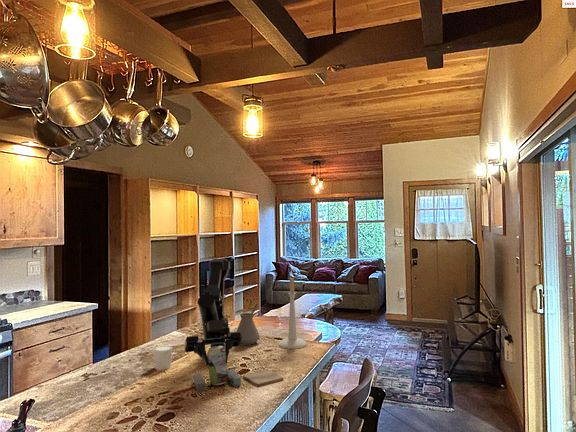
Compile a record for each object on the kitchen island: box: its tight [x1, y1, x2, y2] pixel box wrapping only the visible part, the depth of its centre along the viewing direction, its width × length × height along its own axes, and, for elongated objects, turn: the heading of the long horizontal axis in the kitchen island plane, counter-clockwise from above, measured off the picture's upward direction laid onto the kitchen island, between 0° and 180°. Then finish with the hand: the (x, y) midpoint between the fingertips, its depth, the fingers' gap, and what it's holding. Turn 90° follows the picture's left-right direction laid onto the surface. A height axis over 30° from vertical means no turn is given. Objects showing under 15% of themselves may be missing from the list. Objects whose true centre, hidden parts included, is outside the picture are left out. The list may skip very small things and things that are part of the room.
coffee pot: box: [235, 303, 261, 346], centre depth 185 cm, size 21×12×15 cm, turn 167°
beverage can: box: [206, 346, 229, 386], centre depth 131 cm, size 6×7×12 cm
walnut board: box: [242, 369, 284, 387], centre depth 135 cm, size 10×10×1 cm
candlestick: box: [277, 277, 308, 350], centre depth 177 cm, size 13×13×30 cm
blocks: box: [193, 368, 242, 393], centre depth 131 cm, size 9×14×2 cm, turn 112°
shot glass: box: [153, 345, 173, 371], centre depth 148 cm, size 7×7×7 cm
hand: (217, 364), depth 129 cm, fingers closed on beverage can, 6 cm apart
